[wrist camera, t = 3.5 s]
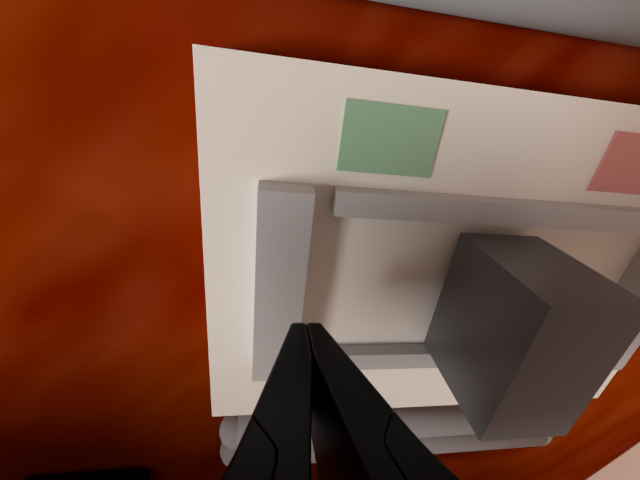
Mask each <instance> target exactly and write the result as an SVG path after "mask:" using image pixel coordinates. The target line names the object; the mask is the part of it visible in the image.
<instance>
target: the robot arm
mask: <svg viewBox="0 0 640 480" xmlns="http://www.w3.org/2000/svg"><path fill="white" fill-rule="evenodd" d="M311 438H312V443H313V448H314V454H315V460H316V466H317V472H318V478H319V480H459V479H458V478H457V477H456V476H455V475H454V474H453V473H452V472H451V471H450V470H449V469H448V468H447V467H446V466H445V465H444V464H443V463H442V462H441V461H440V460H439V459H438V458H437V457H436V456H435V455H434V454H433V453H432V452H431V451H430V450H429V449H428V448H427V447H426V446H425V445H424V444H423V443H422V442H421V441H420V440H419V439H418V438H417V436H416V435H415V434H414V433H413V432H412V431H411V430H410V428H409V427H408V426H407V425H406V424H405V423H404V422H403V420H402V419H401V418H400V417H399V416H398V414H397V413H396V412H395V411H393V409H392V407H391V406H390V405H389V404H388V403H387V402H386V400H385V399H384V398H383V397H382V396H381V394H380V393H379V392H378V391H377V390H376V388H375V387H374V386H373V385H372V384H371V382H370V381H369V380H368V379H367V378H366V377H365V375H364V374H363V373H362V372H361V371H360V369H359V368H358V367H357V366H356V365H355V363H354V362H353V361H352V360H351V359H350V357H349V356H348V355H347V354H346V353H345V351H344V350H343V349H342V348H341V347H340V346H339V344H338V343H337V342H336V341H335V340H334V338H333V337H332V336H331V335H330V334H329V332H328V331H327V330H326V329H325V328H324V326H323V325H322V324H321V323H307V324H305V323H292V324H291V325H290V327H289V330H288V332H287V334H286V337H285V339H284V341H283V344H282V346H281V348H280V351H279V353H278V355H277V358H276V360H275V362H274V365H273V367H272V369H271V372H270V374H269V376H268V379H267V381H266V383H265V386H264V388H263V390H262V393H261V395H260V397H259V400H258V402H257V404H256V407H255V409H254V411H253V413H252V416H251V419H250V420H249V422H248V425H247V427H246V429H245V432H244V434H243V436H242V438H241V440H240V442H239V444H238V447H237V449H236V451H235V453H234V455H233V457H232V459H231V460H230V462H229V464H228V466H227V468H226V470H225V471H224V473H223V475H222V477H221V479H220V480H311ZM23 480H153V475H152V473H151V472H150V471H148V470H132V471H118V472H104V473H90V474H77V475H63V476H49V477H35V478H26V479H23Z"/></svg>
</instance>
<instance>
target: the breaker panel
mask: <svg viewBox="0 0 640 480" xmlns="http://www.w3.org/2000/svg"><path fill="white" fill-rule="evenodd" d="M192 47H193V66H194V85H195V104H196V123H197V142H198V161H199V180H200V199H201V218H202V237H203V256H204V275H205V294H206V313H207V332H208V351H209V370H210V390H211V409H212V417H216V416H236V415H252V413H253V411H254V409H255V407H256V404H257V402H258V400H259V397H260V395H261V393H262V390H263V388H264V386H265V383H266V381H267V379H268V376H269V374H270V372H271V369H272V367H273V365H274V362H275V360H276V358H277V355H278V353H279V351H280V348H281V346H282V344H283V341H284V339H285V337H286V334H287V332H288V330H289V327H290V325H291V324H292V323H305V324H307V323H321V324H322V325H323V326H324V328H325V329H326V330H327V331H328V332H329V334H330V335H331V336H332V337H333V338H334V340H335V341H336V342H337V343H338V344H339V346H340V347H341V348H342V349H343V350H344V351H345V353H346V354H347V355H348V356H349V357H350V359H351V360H352V361H353V362H354V363H355V365H356V366H357V367H358V368H359V369H360V371H361V372H362V373H363V374H364V375H365V377H366V378H367V379H368V380H369V381H370V382H371V384H372V385H373V386H374V387H375V388H376V390H377V391H378V392H379V393H380V394H381V396H382V397H383V398H384V399H385V400H386V402H387V403H388V404H389V405H390V406H391V407H392V408H401V407H422V406H442V405H459V404H458V403H457V401H456V399H455V397H454V396H453V394H452V392H451V390H450V389H449V387H448V385H447V383H446V382H445V380H444V378H443V376H442V375H441V373H440V371H439V369H438V368H437V366H436V364H435V362H434V361H433V359H432V357H431V355H430V353H429V352H428V350H427V348H426V346H425V345H424V341H425V338H426V335H427V332H428V329H429V326H430V323H431V320H432V317H433V314H434V311H435V308H436V305H437V302H438V299H439V296H440V293H441V290H442V287H443V284H444V281H445V278H446V275H447V272H448V269H449V266H450V263H451V260H452V257H453V254H454V251H455V248H456V245H457V242H458V239H459V236H460V234H461V232H462V233H482V234H502V235H522V236H538V237H540V238H541V239H543V240H545V241H546V242H548V243H550V244H551V245H553V246H555V247H556V248H558V249H560V250H561V251H563V252H565V253H566V254H568V255H570V256H571V257H573V258H575V259H576V260H578V261H580V262H581V263H583V264H585V265H586V266H588V267H590V268H591V269H593V270H595V271H596V272H598V273H600V274H601V275H603V276H605V277H606V278H608V279H610V280H611V281H613V282H615V283H616V284H618V285H620V286H621V287H623V288H625V289H626V290H628V291H630V292H631V293H633V294H635V295H636V296H638V297H640V105H633V104H626V103H619V102H612V101H604V100H597V99H590V98H582V97H575V96H568V95H561V94H553V93H546V92H539V91H531V90H524V89H517V88H510V87H502V86H495V85H488V84H480V83H473V82H466V81H459V80H451V79H444V78H437V77H429V76H422V75H415V74H408V73H400V72H393V71H386V70H378V69H371V68H364V67H357V66H349V65H342V64H335V63H327V62H320V61H313V60H306V59H298V58H291V57H284V56H276V55H269V54H262V53H255V52H247V51H240V50H233V49H225V48H218V47H211V46H204V45H196V44H192ZM639 345H640V332H639V334H638V335H637V336H636V338H635V339H634V341H633V342H632V343H631V345H630V346H629V348H628V349H627V350H626V352H625V353H624V355H623V356H622V357H621V359H620V360H619V362H618V363H617V364H616V366H615V367H614V369H613V370H612V372H611V373H610V374H609V376H608V377H607V379H606V380H605V381H604V383H603V384H602V386H601V387H600V388H599V390H598V391H597V393H596V394H595V395H594V397H593V398H598V397H599V396H600V394H601V393H602V391H603V390H604V389H605V387H606V386H607V384H608V383H609V382H610V380H611V379H612V377H613V376H614V375H615V373H616V372H617V371H618V370H622V368H623V367H624V366H625V364H626V363H627V361H628V360H629V359H630V357H631V356H632V355H633V353H634V352H635V350H636V349H637V348H638V346H639Z"/></svg>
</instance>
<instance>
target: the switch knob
mask: <svg viewBox="0 0 640 480" xmlns="http://www.w3.org/2000/svg"><path fill="white" fill-rule="evenodd" d="M639 332H640V297H638V296H636V295H635V294H633V293H631V292H630V291H628V290H626V289H625V288H623V287H621V286H620V285H618V284H616V283H615V282H613V281H611V280H610V279H608V278H606V277H605V276H603V275H601V274H600V273H598V272H596V271H595V270H593V269H591V268H590V267H588V266H586V265H585V264H583V263H581V262H580V261H578V260H576V259H575V258H573V257H571V256H570V255H568V254H566V253H565V252H563V251H561V250H560V249H558V248H556V247H555V246H553V245H551V244H550V243H548V242H546V241H545V240H543V239H541V238H540V237H538V236H522V235H502V234H482V233H462V232H461V234H460V236H459V239H458V242H457V245H456V248H455V251H454V254H453V257H452V260H451V263H450V266H449V269H448V272H447V275H446V278H445V281H444V284H443V287H442V290H441V293H440V296H439V299H438V302H437V305H436V308H435V311H434V314H433V317H432V320H431V323H430V326H429V329H428V332H427V335H426V338H425V341H424V345H425V346H426V348H427V350H428V352H429V353H430V355H431V357H432V359H433V361H434V362H435V364H436V366H437V368H438V369H439V371H440V373H441V375H442V376H443V378H444V380H445V382H446V383H447V385H448V387H449V389H450V390H451V392H452V394H453V396H454V397H455V399H456V401H457V403H458V404H459V406H460V408H461V410H462V411H463V413H464V415H465V417H466V418H467V420H468V422H469V424H470V426H471V427H472V429H473V431H474V433H475V434H476V436H477V438H478V440H479V441H480V442H482V441H496V440H510V439H524V438H538V437H552V436H566V435H567V433H568V432H569V431H570V429H571V428H572V426H573V425H574V424H575V422H576V421H577V419H578V418H579V417H580V415H581V414H582V412H583V411H584V410H585V408H586V407H587V405H588V404H589V402H590V401H591V400H592V398H593V397H594V395H595V394H596V393H597V391H598V390H599V388H600V387H601V386H602V384H603V383H604V381H605V380H606V379H607V377H608V376H609V374H610V373H611V372H612V370H613V369H614V367H615V366H616V364H617V363H618V362H619V360H620V359H621V357H622V356H623V355H624V353H625V352H626V350H627V349H628V348H629V346H630V345H631V343H632V342H633V341H634V339H635V338H636V336H637V335H638V334H639Z"/></svg>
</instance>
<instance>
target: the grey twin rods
mask: <svg viewBox="0 0 640 480" xmlns="http://www.w3.org/2000/svg"><path fill="white" fill-rule="evenodd" d="M369 1H374V2H380V3H386V4H392V5H397V6H403V7H409V8H414V9H420V10H426V11H432V12H437V13H443V14H449V15H455V16H460V17H466V18H472V19H478V20H483V21H489V22H495V23H501V24H506V25H512V26H518V27H524V28H529V29H535V30H541V31H547V32H552V33H558V34H564V35H570V36H575V37H581V38H587V39H593V40H598V41H604V42H610V43H616V44H621V45H627V46H633V47H639V48H640V0H369ZM392 409H393V411H395V412H396V413H397V414H398V416H399V417H400V418H401V419H402V420H403V422H404V423H405V424H406V425H407V426H408V427H409V428H410V430H411V431H412V432H413V433H414V434H415V435H416V436H417V438H418V439H419V440H420V441H421V442H422V443H423V444H424V445H425V446H426V447H427V448H428V449H429V450H430V451H431V452H432V453H433V454H443V453H456V452H469V451H482V450H495V449H509V448H522V447H535V446H544V445H547V444H549V443H550V442H551V440H552V438H553V436H552V437H538V438H524V439H510V440H496V441H482V442H480V441H479V440H478V438H477V436H476V434H475V433H474V431H473V429H472V427H471V426H470V424H469V422H468V420H467V418H466V417H465V415H464V413H463V411H462V410H461V408H460V406H459V405H442V406H422V407H401V408H392ZM251 416H252V415H236V416H225V417H224V418H223V420H222V422H221V425H220V429H219V435H220V439H221V442H222V443H221V447H220V456H221V459H222V461H223V463H224V464H225V465H226V466H228V464H229V462H230V460H231V459H232V457H233V455H234V453H235V451H236V449H237V447H238V444H239V442H240V440H241V438H242V436H243V434H244V432H245V429H246V427H247V425H248V422H249V420H250V419H251ZM311 463H316V460H315V454H314V448H313V443H312V438H311Z"/></svg>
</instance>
